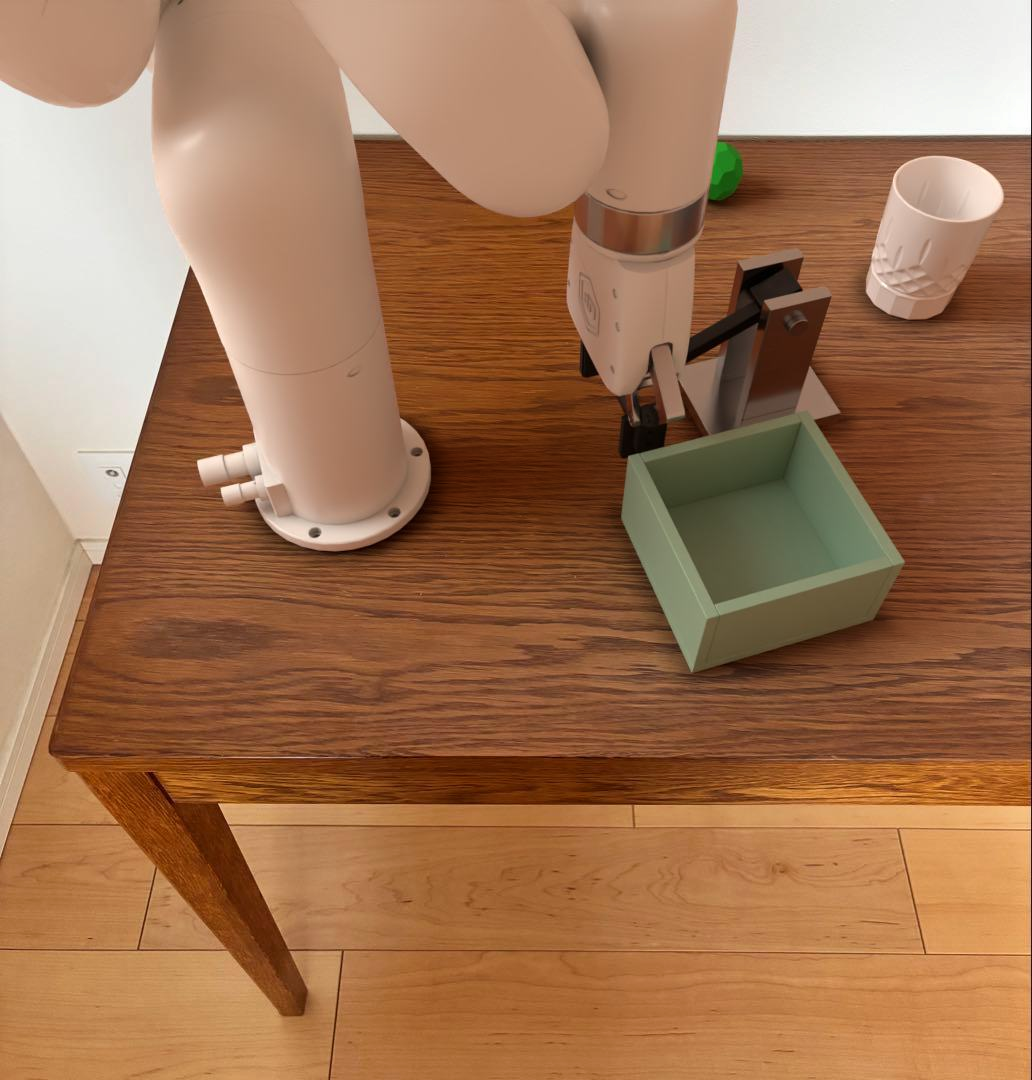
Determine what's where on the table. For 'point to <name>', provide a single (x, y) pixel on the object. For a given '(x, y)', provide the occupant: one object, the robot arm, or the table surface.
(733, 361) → the bracket
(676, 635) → the bin
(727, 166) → the polyhedron
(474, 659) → the table surface
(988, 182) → the white cup
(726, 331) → the lever
